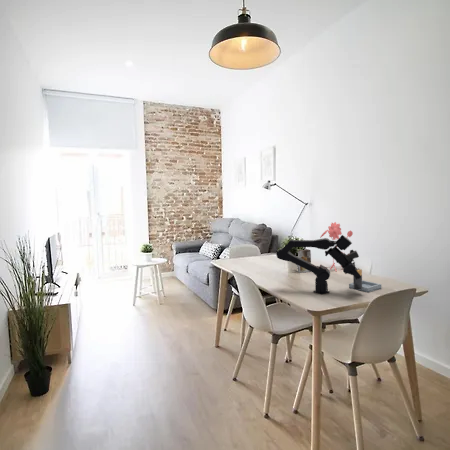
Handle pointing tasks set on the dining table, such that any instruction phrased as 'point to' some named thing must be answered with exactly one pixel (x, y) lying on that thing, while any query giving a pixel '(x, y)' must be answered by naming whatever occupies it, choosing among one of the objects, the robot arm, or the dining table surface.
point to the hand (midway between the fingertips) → (360, 276)
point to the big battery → (358, 280)
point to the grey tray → (367, 286)
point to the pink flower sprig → (335, 235)
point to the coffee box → (305, 256)
